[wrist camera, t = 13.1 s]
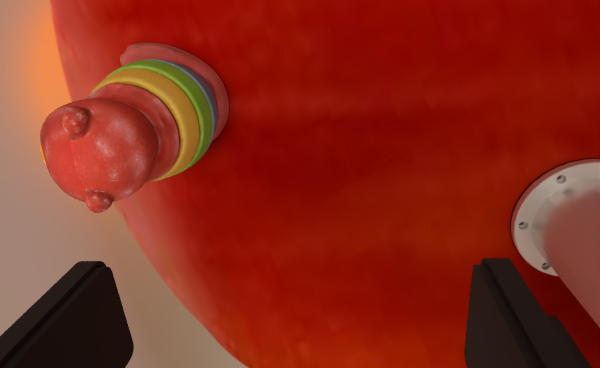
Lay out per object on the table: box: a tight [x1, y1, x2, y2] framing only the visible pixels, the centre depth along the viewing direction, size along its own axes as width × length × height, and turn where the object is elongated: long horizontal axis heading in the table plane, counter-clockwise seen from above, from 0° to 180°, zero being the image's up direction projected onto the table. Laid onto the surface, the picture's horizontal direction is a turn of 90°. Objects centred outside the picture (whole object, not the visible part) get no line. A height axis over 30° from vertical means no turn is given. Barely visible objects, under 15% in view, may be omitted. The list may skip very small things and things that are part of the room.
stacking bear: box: [40, 42, 229, 213], centre depth 32 cm, size 11×10×18 cm
